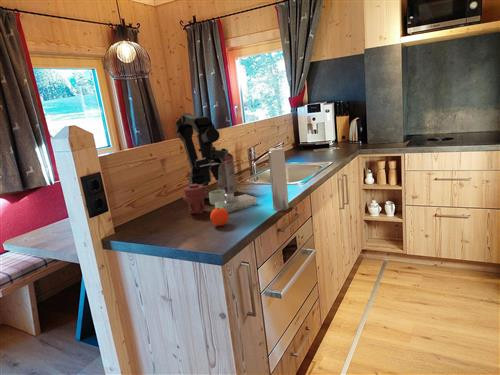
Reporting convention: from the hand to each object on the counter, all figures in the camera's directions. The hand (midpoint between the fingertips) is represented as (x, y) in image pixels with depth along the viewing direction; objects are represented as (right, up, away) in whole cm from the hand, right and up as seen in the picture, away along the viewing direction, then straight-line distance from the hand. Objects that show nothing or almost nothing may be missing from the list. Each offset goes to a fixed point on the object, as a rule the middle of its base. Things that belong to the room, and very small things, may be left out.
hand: (213, 181), depth 156 cm
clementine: (+5, -17, -20) cm, 27 cm away
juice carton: (+5, -6, +28) cm, 28 cm away
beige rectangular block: (+10, -11, +2) cm, 15 cm away
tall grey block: (+29, -12, -8) cm, 32 cm away
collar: (+1, -10, +12) cm, 15 cm away
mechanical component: (-7, -14, -1) cm, 15 cm away
